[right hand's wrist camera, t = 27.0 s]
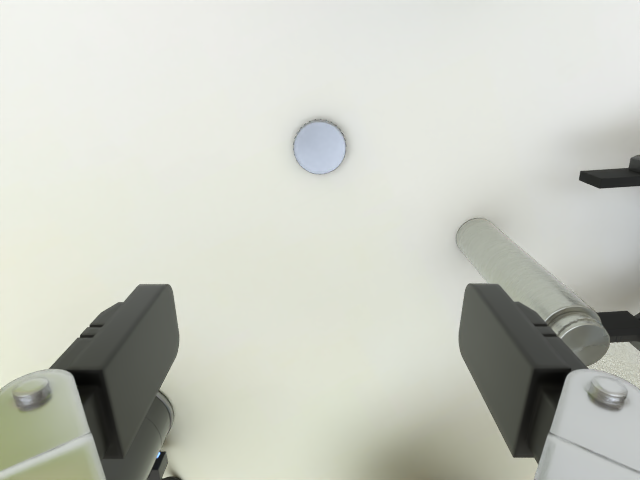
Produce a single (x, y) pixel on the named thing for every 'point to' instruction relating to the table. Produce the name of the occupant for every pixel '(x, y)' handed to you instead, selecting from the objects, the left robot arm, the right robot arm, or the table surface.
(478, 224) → the grey long cylinder
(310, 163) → the lid
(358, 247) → the table surface
